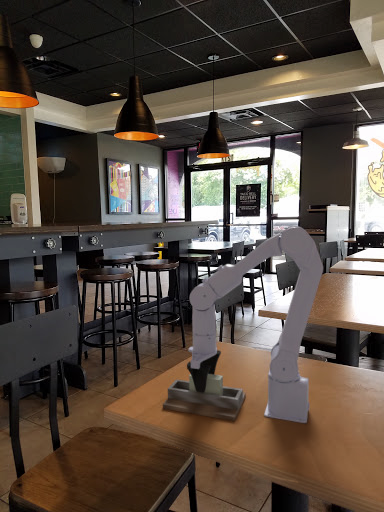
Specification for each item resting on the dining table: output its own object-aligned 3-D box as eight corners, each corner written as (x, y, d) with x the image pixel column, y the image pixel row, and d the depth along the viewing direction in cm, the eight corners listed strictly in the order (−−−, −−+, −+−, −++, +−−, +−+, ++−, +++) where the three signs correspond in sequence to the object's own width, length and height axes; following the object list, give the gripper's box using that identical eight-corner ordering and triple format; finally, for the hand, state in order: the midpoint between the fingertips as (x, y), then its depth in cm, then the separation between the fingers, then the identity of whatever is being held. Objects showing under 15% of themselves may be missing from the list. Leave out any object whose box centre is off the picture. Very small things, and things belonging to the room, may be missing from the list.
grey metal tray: (245, 396, 96) (245, 383, 95) (234, 421, 84) (234, 406, 84) (180, 386, 102) (180, 374, 101) (162, 408, 91) (162, 394, 90)
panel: (222, 398, 93) (222, 375, 92) (220, 403, 90) (220, 380, 90) (192, 393, 95) (192, 371, 95) (189, 398, 93) (189, 375, 92)
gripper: (198, 322, 99) (199, 371, 101) (177, 340, 86) (179, 396, 87) (223, 324, 97) (224, 374, 98) (207, 343, 83) (207, 400, 85)
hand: (205, 385), depth 93 cm, fingers open, 6 cm apart
